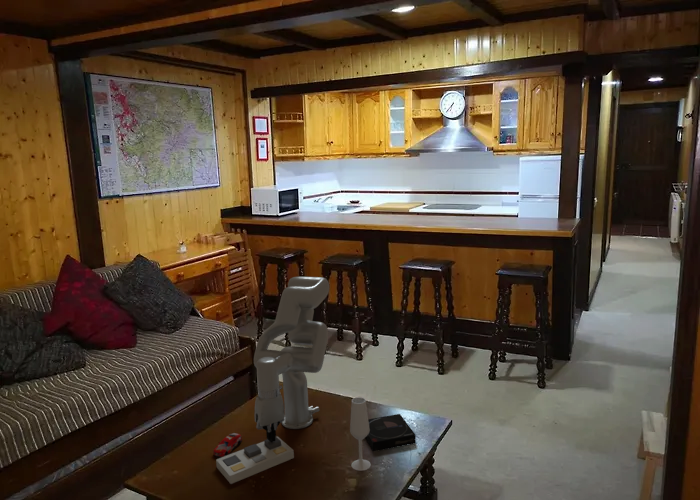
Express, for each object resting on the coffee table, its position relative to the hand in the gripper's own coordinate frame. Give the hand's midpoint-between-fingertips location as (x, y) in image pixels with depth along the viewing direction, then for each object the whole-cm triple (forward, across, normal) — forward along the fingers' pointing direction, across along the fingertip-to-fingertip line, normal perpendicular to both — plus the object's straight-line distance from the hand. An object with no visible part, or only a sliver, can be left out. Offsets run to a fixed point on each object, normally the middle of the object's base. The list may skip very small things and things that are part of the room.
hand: (271, 440), depth 193 cm
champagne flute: (+5, -21, +26) cm, 34 cm away
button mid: (+4, +7, -1) cm, 8 cm away
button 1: (+5, +15, -1) cm, 16 cm away
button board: (+5, +7, +1) cm, 9 cm away
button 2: (+4, -1, -1) cm, 4 cm away
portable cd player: (+5, -40, +17) cm, 44 cm away
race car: (+6, +11, -14) cm, 19 cm away
